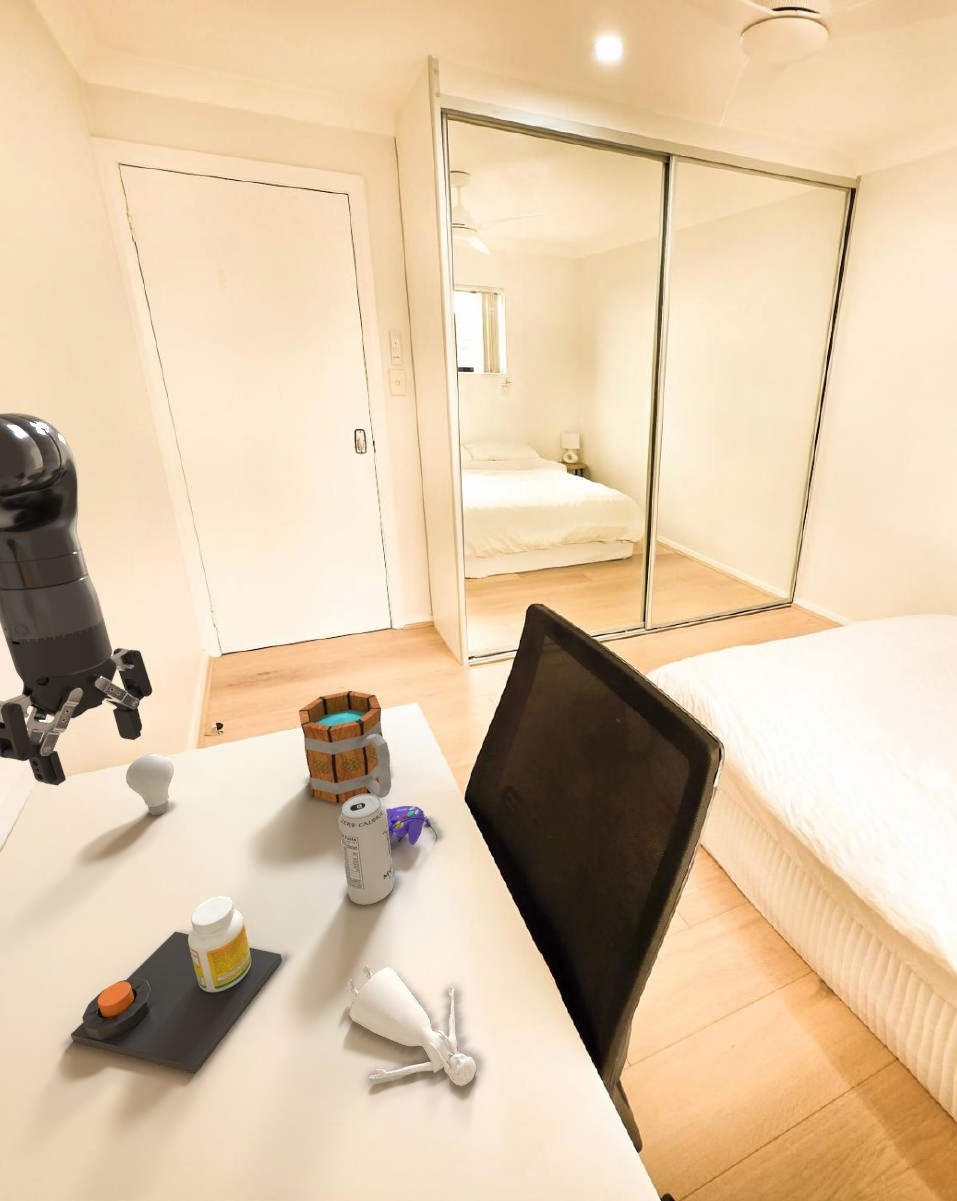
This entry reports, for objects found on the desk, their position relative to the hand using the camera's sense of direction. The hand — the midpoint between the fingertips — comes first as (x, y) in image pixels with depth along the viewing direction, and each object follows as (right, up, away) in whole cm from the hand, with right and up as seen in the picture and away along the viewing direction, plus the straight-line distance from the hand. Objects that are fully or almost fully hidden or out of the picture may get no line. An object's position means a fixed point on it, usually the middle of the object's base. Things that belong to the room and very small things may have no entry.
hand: (94, 758), depth 65 cm
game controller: (+24, -21, +29) cm, 43 cm away
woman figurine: (+35, -31, +1) cm, 47 cm away
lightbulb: (-17, -18, +32) cm, 41 cm away
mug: (+13, -16, +40) cm, 45 cm away
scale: (+8, -29, +3) cm, 30 cm away
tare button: (+3, -27, 0) cm, 27 cm away
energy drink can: (+23, -24, +19) cm, 38 cm away
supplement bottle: (+11, -27, +5) cm, 29 cm away
